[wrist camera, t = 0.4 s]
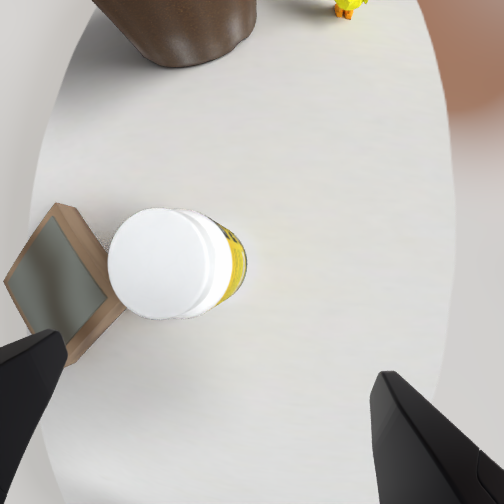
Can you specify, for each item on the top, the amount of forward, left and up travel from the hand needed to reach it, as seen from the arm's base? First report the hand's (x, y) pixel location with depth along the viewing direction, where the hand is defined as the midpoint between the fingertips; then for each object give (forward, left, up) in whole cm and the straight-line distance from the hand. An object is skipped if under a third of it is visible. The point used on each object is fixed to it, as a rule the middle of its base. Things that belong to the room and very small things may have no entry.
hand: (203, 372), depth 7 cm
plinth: (-12, +11, -15) cm, 22 cm away
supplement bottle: (-1, +4, -15) cm, 16 cm away
